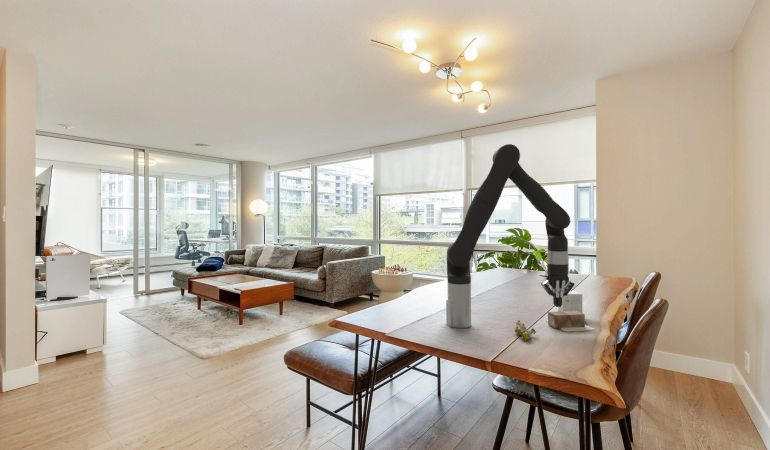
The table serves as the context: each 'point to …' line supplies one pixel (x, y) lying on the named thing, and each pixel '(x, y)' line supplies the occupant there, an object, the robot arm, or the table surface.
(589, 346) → the table surface
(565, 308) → the small box
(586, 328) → the mat
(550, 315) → the walnut block
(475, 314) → the table surface
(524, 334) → the yellow-green lumpy cluster
